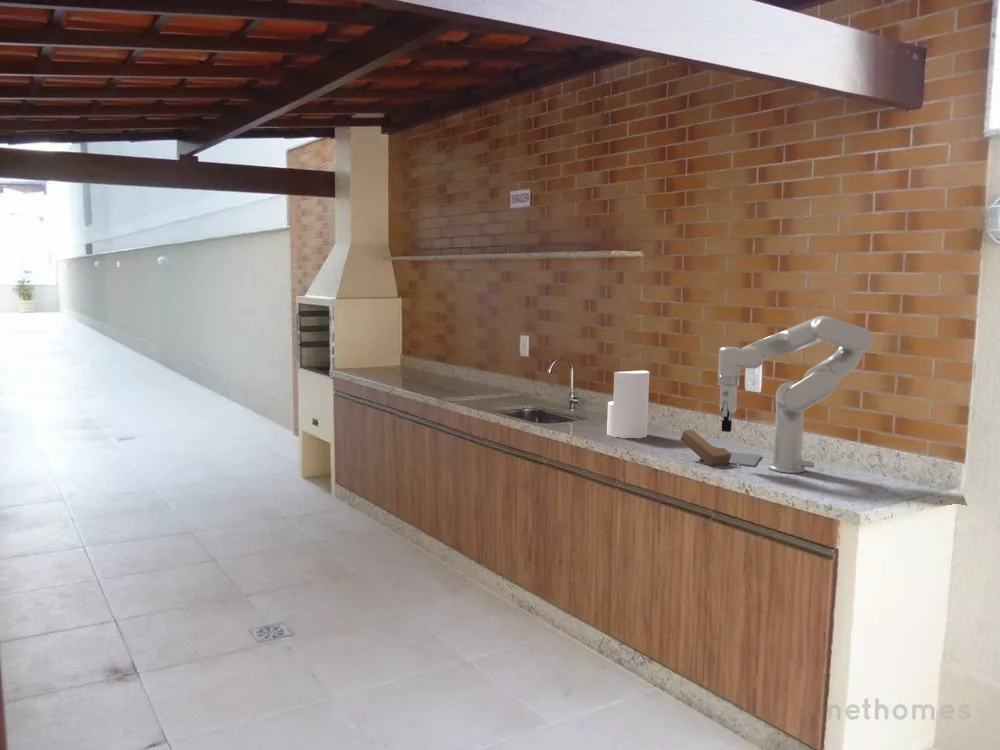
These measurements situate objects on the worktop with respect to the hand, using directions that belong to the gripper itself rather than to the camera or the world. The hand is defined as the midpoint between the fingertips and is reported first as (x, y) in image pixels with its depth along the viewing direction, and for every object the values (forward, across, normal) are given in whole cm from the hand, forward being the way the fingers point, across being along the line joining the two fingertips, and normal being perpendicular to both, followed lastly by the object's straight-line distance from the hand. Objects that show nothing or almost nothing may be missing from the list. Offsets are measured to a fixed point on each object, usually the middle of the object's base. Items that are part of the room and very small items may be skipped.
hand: (726, 431), depth 297 cm
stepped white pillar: (+13, +44, +48) cm, 67 cm away
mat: (+13, +15, 0) cm, 20 cm away
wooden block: (+11, 0, +1) cm, 11 cm away
